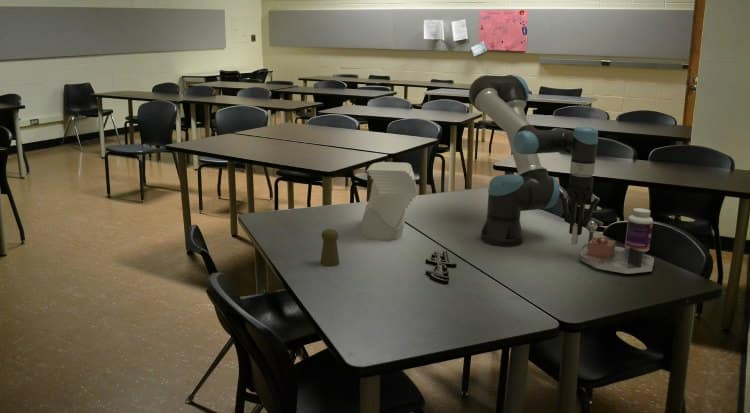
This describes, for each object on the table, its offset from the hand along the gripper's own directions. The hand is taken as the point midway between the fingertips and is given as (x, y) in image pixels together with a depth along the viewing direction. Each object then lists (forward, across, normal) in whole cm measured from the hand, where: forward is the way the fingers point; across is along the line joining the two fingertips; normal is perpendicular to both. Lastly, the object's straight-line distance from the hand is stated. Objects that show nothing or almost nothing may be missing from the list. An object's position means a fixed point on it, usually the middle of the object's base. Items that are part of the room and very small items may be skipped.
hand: (574, 243), depth 211 cm
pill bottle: (+5, +17, +20) cm, 27 cm away
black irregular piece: (+5, -31, -37) cm, 49 cm away
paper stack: (+4, -63, -14) cm, 65 cm away
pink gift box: (+2, +9, 0) cm, 9 cm away
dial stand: (+4, +4, +10) cm, 12 cm away
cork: (+4, -62, -54) cm, 82 cm away
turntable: (+4, +14, 0) cm, 14 cm away
